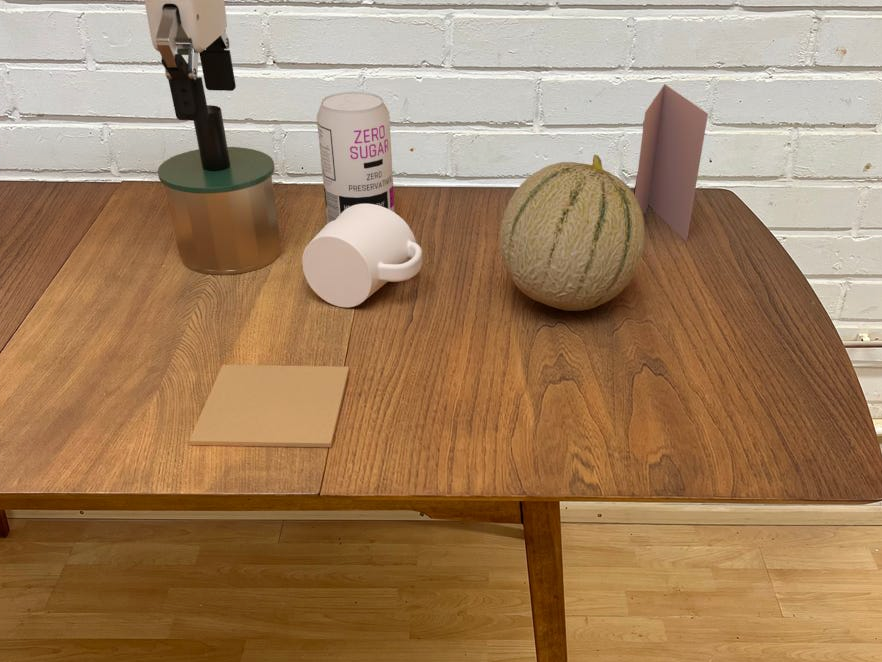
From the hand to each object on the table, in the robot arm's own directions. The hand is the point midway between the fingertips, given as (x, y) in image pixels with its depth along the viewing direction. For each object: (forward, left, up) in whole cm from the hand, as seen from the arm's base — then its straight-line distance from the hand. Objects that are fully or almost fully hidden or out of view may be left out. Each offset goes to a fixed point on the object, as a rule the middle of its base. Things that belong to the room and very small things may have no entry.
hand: (207, 104), depth 93 cm
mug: (+2, -19, -17) cm, 25 cm away
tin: (0, 0, -17) cm, 17 cm away
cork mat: (-20, -26, -17) cm, 37 cm away
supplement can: (+14, -8, -17) cm, 23 cm away
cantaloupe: (+12, -38, -17) cm, 43 cm away
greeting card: (+36, -38, -17) cm, 55 cm away
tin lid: (0, 0, -7) cm, 7 cm away
